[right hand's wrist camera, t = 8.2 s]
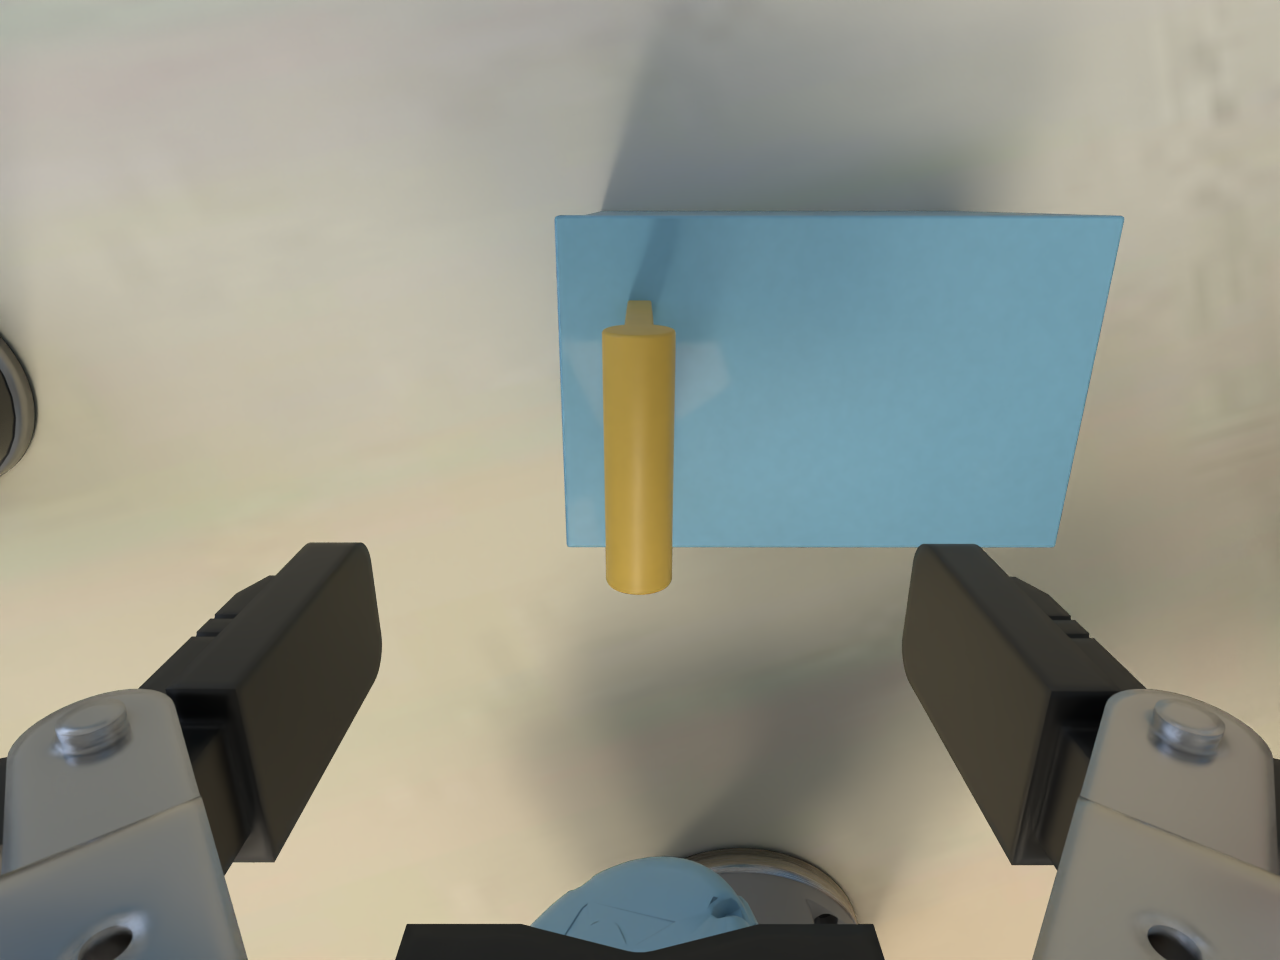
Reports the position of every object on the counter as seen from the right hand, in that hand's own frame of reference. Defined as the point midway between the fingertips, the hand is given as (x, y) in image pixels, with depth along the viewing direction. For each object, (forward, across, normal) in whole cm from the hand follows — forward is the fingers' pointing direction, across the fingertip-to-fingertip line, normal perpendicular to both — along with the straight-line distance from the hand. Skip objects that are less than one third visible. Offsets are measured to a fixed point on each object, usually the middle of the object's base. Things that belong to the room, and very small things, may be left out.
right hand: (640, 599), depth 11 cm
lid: (+14, -6, 0) cm, 15 cm away
